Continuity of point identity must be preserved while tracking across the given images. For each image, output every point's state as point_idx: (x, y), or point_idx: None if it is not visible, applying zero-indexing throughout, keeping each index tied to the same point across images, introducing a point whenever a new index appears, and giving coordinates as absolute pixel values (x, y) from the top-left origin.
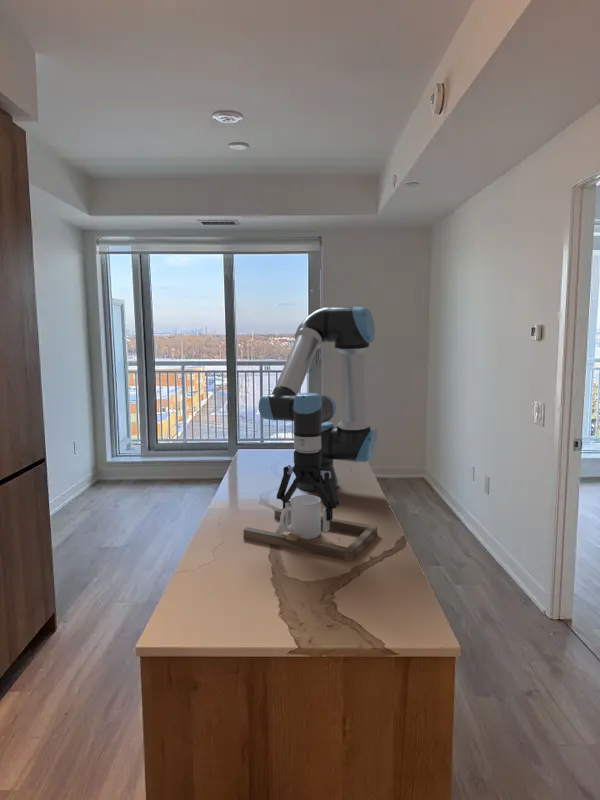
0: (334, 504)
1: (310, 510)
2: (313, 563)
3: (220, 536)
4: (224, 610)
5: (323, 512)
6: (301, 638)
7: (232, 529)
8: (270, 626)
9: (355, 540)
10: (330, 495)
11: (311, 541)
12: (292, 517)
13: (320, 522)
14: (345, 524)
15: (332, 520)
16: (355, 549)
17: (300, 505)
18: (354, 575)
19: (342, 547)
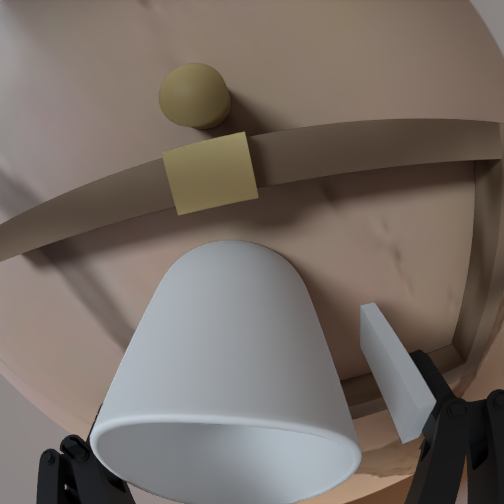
0: (484, 442)
1: (314, 459)
2: (379, 415)
3: (78, 419)
4: (316, 498)
5: (399, 428)
6: (414, 471)
7: (47, 383)
8: (379, 483)
9: (484, 311)
10: (480, 497)
11: (352, 411)
12: (197, 426)
13: (316, 316)
14: (408, 163)
15: (318, 164)
16: (482, 350)
17: (261, 501)
18: (467, 383)
19: (453, 373)
